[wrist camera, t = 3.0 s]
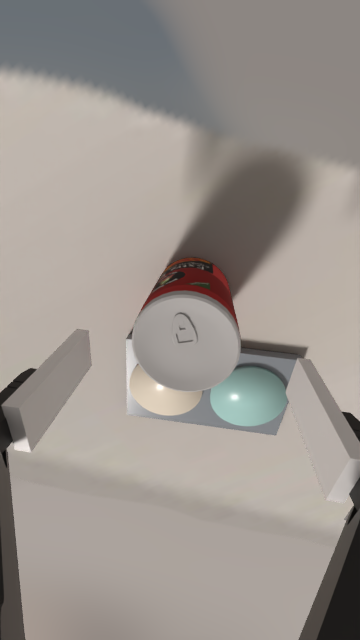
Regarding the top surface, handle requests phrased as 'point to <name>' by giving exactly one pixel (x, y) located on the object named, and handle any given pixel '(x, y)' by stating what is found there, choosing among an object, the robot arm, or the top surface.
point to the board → (196, 406)
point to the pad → (249, 396)
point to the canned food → (188, 328)
